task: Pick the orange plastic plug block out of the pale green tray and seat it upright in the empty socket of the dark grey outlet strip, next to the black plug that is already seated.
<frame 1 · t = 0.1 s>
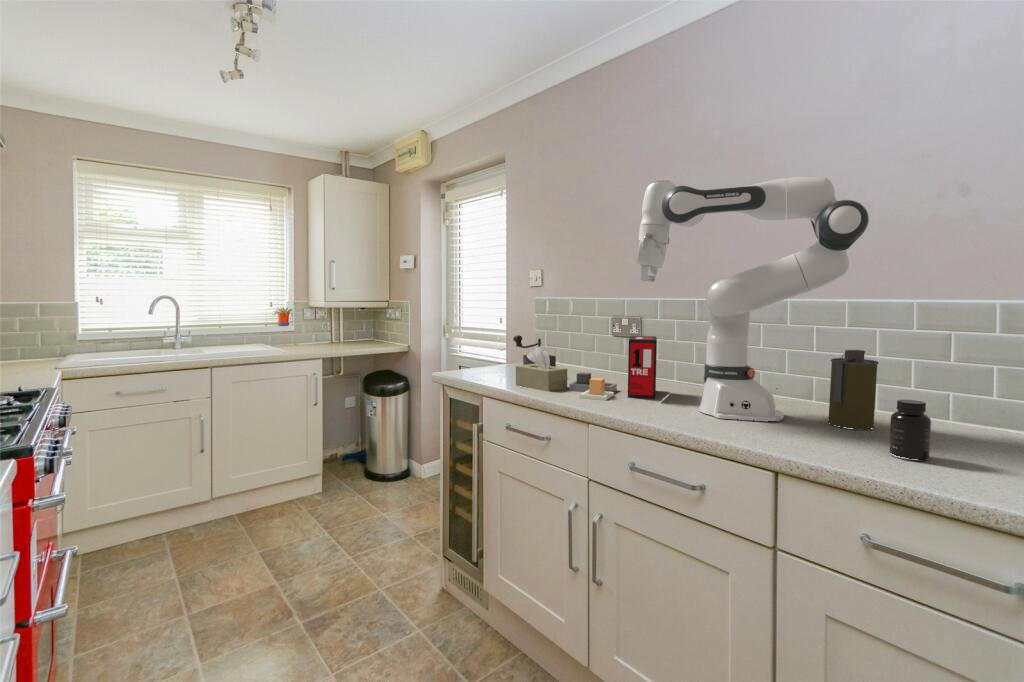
hand: (648, 281, 159), 39 cm above the worktop, tool pointing down, fingers open, 8 cm apart
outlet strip: (592, 392, 184), on the worktop
tray: (596, 398, 172), on the worktop
tissue box: (540, 389, 192), on the worktop
cleaning product box: (641, 396, 177), on the worktop
black plug: (583, 389, 185), resting on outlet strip
canister: (849, 426, 136), on the worktop
supplement bottle: (908, 457, 109), on the worktop
orange plug: (596, 396, 172), point 1 cm above the worktop, touching tray
pepper mill: (533, 378, 217), on the worktop
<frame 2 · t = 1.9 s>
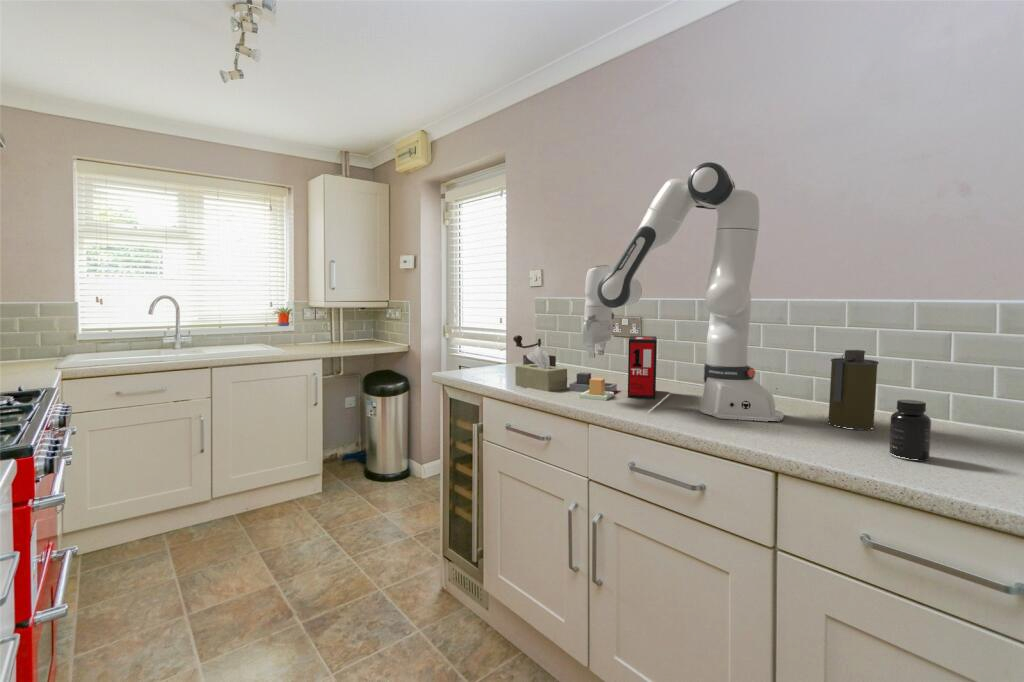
hand: (596, 356, 171), 14 cm above the worktop, tool pointing down, fingers open, 8 cm apart
nothing on the worktop moved.
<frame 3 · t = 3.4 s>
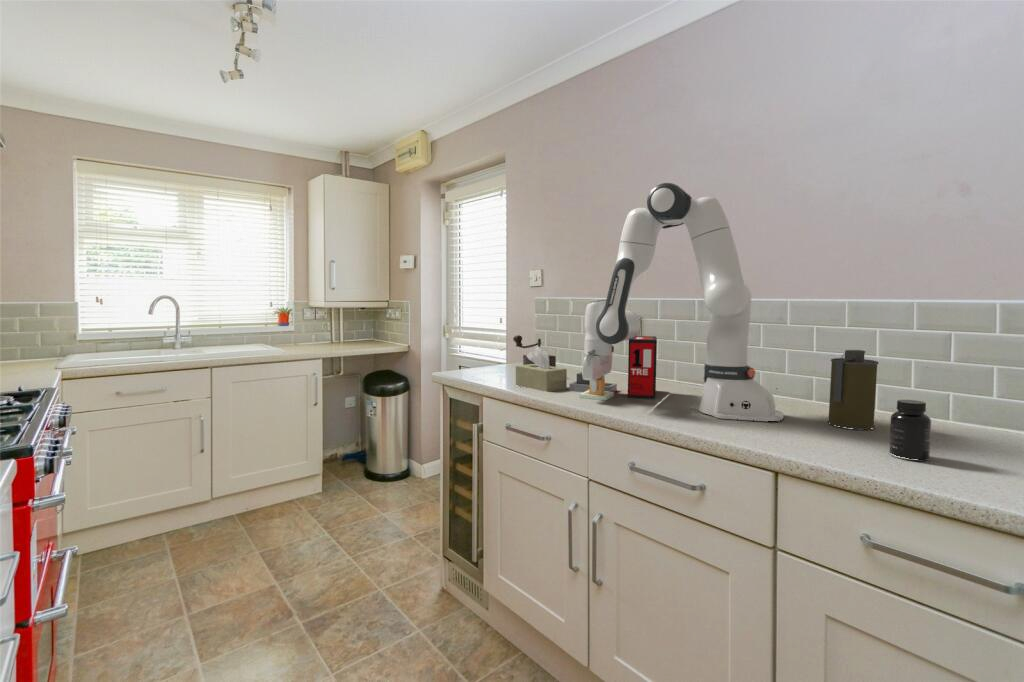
hand: (597, 389, 172), 3 cm above the worktop, tool pointing down, fingers closed on orange plug, 4 cm apart
orange plug: (596, 396, 172), point 1 cm above the worktop, touching gripper, tray
everything else where it was.
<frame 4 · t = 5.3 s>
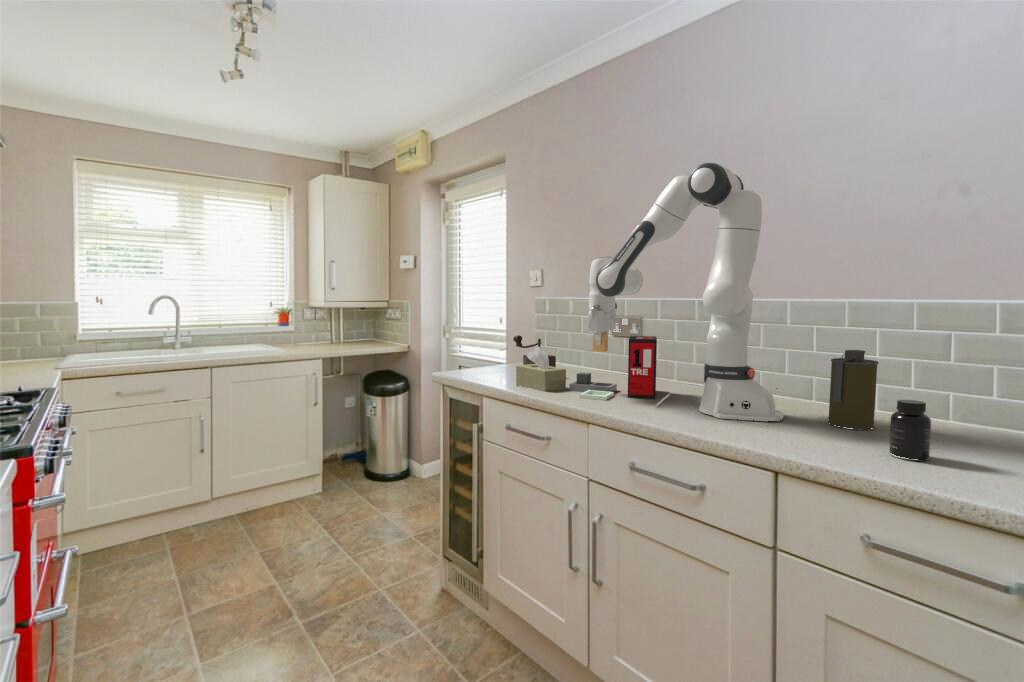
hand: (600, 344, 178), 17 cm above the worktop, tool pointing down, fingers closed on orange plug, 4 cm apart
orange plug: (600, 351, 178), point 15 cm above the worktop, touching gripper
everything else where it was.
when the fingers open (4 cm above the worktop, at t = 7.5 s): orange plug drops 1 cm, resting on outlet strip.
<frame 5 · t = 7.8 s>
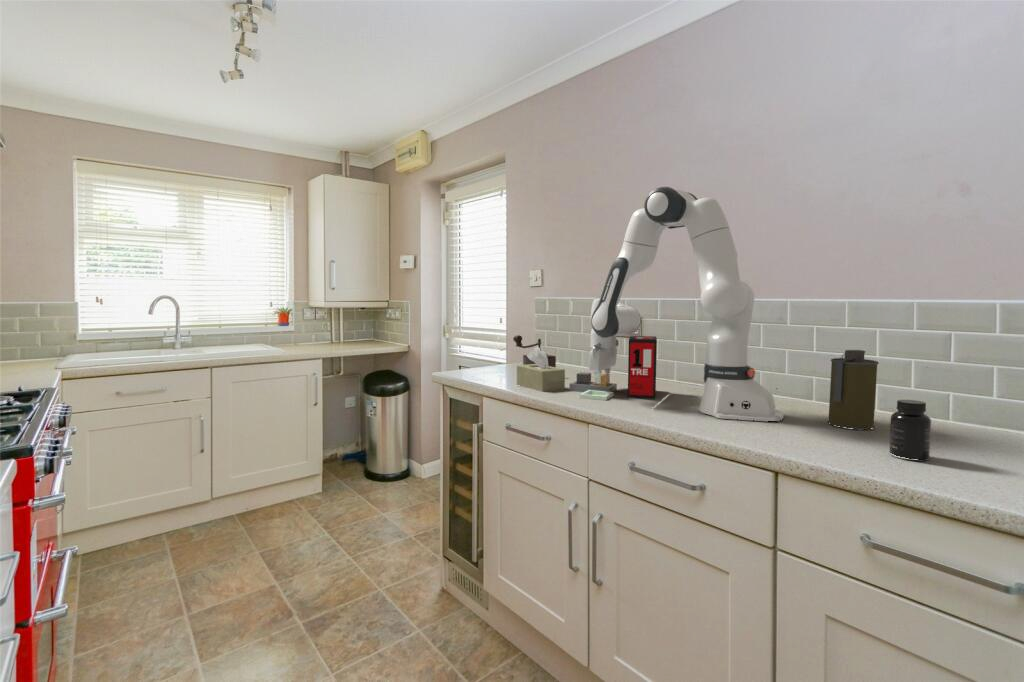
hand: (602, 381, 182), 4 cm above the worktop, tool pointing down, fingers open, 7 cm apart
orange plug: (602, 391, 182), resting on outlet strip
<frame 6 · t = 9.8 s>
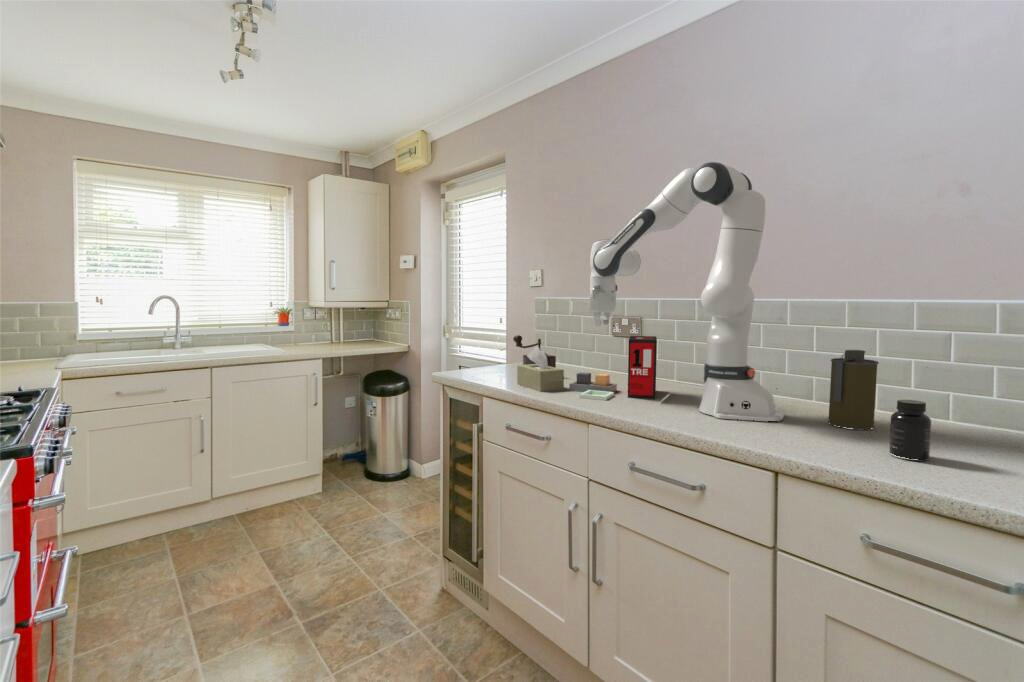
hand: (602, 325, 184), 24 cm above the worktop, tool pointing down, fingers open, 8 cm apart
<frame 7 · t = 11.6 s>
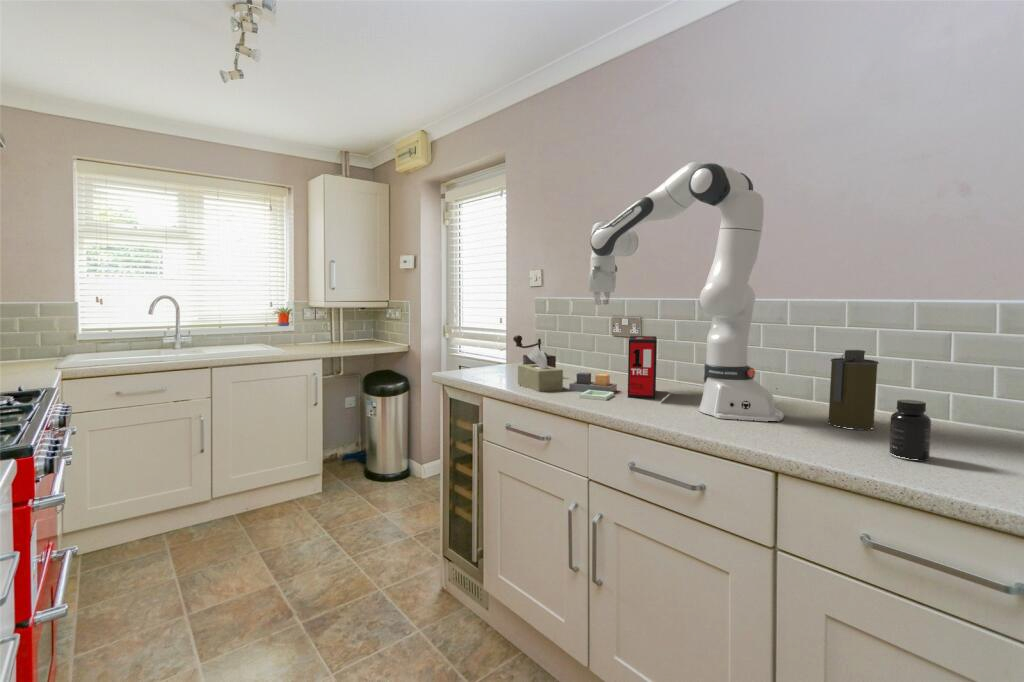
hand: (602, 304, 189), 31 cm above the worktop, tool pointing down, fingers open, 8 cm apart
at the end: orange plug 0.0 cm from the target spot on the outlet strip, point 0.5 cm above the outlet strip's base; orange plug tilted 0°; the gripper is holding nothing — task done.
